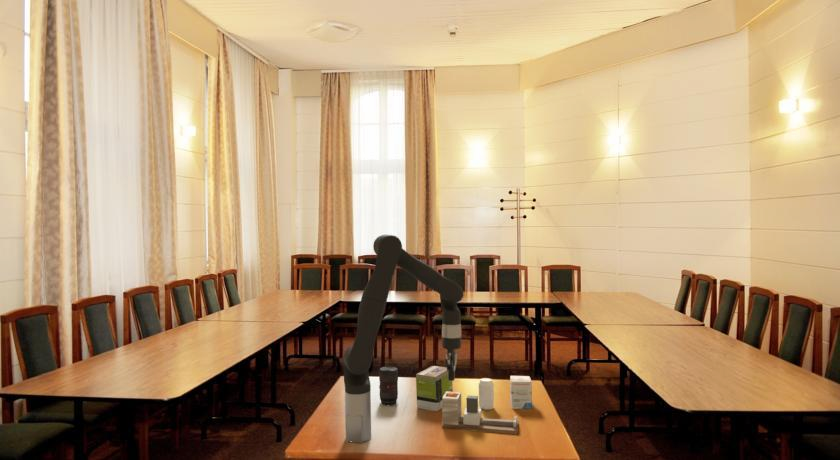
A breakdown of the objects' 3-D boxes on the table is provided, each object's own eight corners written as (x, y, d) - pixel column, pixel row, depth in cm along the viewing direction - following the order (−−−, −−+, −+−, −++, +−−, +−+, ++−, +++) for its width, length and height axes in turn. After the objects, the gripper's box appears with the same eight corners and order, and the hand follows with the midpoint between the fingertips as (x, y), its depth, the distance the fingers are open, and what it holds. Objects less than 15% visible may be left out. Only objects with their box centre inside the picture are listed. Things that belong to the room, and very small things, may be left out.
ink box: (530, 402, 225) (529, 375, 224) (532, 409, 216) (532, 381, 216) (510, 402, 225) (509, 375, 225) (511, 408, 217) (511, 380, 217)
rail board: (517, 434, 191) (516, 403, 191) (442, 428, 197) (441, 398, 197) (518, 424, 200) (518, 394, 200) (447, 418, 207) (446, 390, 207)
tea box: (433, 397, 232) (433, 364, 232) (453, 401, 227) (453, 367, 227) (415, 408, 219) (415, 373, 219) (436, 412, 214) (436, 376, 214)
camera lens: (397, 406, 222) (397, 371, 222) (378, 406, 222) (378, 371, 222) (398, 399, 230) (398, 366, 230) (380, 400, 230) (380, 366, 230)
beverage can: (493, 411, 215) (493, 382, 214) (478, 410, 216) (477, 381, 216) (494, 406, 221) (494, 377, 220) (479, 405, 222) (479, 377, 222)
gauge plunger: (455, 421, 199) (455, 395, 199) (447, 420, 200) (447, 394, 200) (456, 418, 202) (456, 392, 202) (448, 417, 203) (448, 392, 203)
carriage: (479, 425, 195) (478, 400, 195) (463, 424, 197) (463, 399, 197) (481, 418, 202) (481, 394, 202) (466, 417, 204) (465, 393, 203)
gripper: (458, 339, 194) (458, 385, 194) (463, 332, 207) (463, 376, 207) (438, 338, 196) (438, 384, 196) (445, 331, 208) (445, 374, 208)
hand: (451, 380), depth 201 cm, fingers closed
